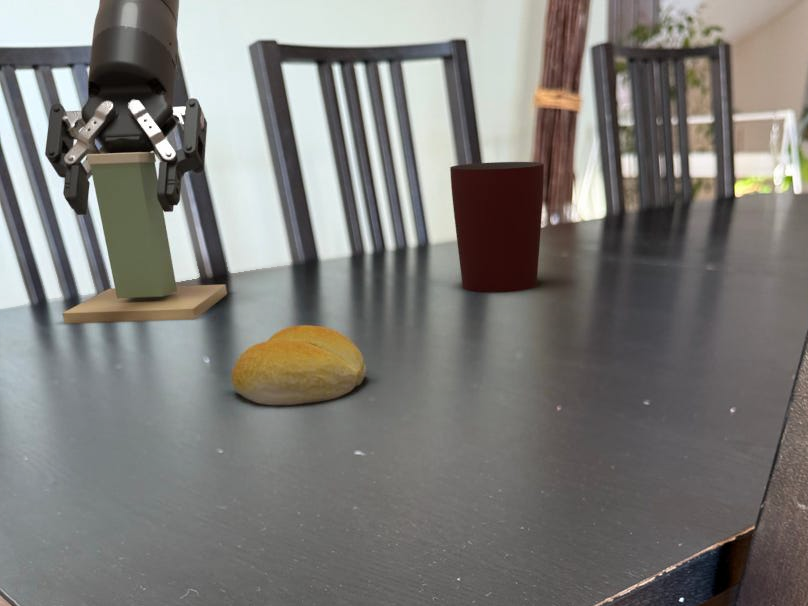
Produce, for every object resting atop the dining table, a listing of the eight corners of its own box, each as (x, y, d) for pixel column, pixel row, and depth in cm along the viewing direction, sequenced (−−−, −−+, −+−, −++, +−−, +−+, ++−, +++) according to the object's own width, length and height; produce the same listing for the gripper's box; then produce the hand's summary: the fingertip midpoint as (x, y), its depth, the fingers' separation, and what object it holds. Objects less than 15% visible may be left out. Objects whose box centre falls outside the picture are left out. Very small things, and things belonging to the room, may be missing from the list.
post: (115, 298, 88) (86, 154, 82) (132, 292, 92) (105, 154, 86) (163, 296, 88) (137, 152, 82) (178, 290, 92) (154, 152, 86)
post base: (65, 326, 86) (61, 312, 85) (111, 300, 96) (108, 288, 95) (195, 322, 85) (193, 308, 85) (227, 296, 96) (225, 284, 95)
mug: (469, 275, 102) (465, 160, 96) (551, 274, 100) (551, 158, 94) (447, 296, 91) (441, 170, 86) (538, 296, 90) (538, 167, 84)
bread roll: (214, 407, 62) (203, 344, 60) (282, 371, 69) (274, 315, 67) (327, 414, 59) (319, 350, 57) (385, 377, 66) (380, 318, 64)
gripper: (40, 26, 85) (21, 180, 81) (197, 19, 84) (186, 173, 80) (77, 94, 92) (61, 238, 88) (222, 88, 92) (213, 232, 87)
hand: (121, 207), depth 84 cm, fingers open, 7 cm apart
